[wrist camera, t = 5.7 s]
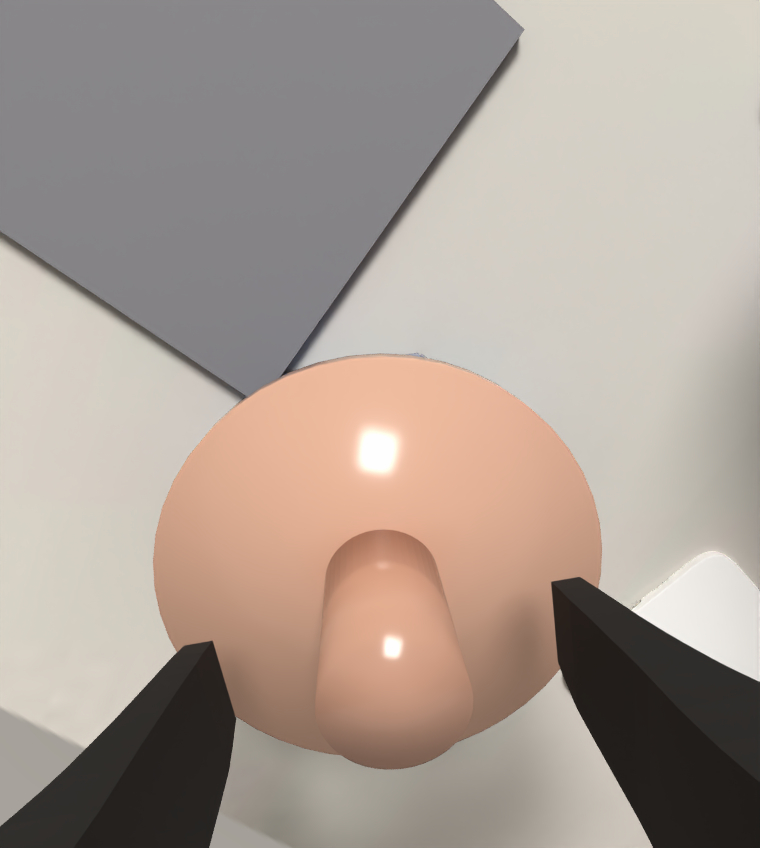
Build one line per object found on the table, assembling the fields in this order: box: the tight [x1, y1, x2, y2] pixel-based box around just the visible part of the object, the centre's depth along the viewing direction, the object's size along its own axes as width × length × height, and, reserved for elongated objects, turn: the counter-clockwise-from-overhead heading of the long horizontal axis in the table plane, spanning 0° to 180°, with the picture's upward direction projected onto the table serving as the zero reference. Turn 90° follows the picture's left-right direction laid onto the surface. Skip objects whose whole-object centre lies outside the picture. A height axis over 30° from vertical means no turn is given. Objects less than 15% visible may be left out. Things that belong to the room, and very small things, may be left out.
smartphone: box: [631, 551, 760, 682], centre depth 21 cm, size 7×1×15 cm
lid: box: [153, 354, 602, 769], centre depth 12 cm, size 11×11×5 cm
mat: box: [0, 0, 524, 396], centre depth 14 cm, size 12×12×1 cm
